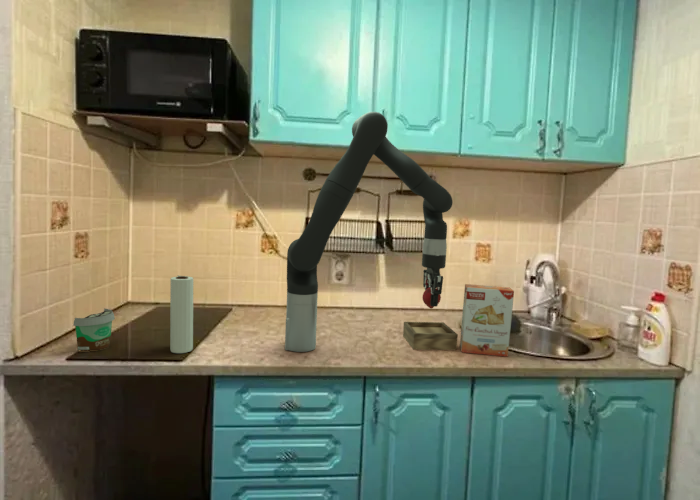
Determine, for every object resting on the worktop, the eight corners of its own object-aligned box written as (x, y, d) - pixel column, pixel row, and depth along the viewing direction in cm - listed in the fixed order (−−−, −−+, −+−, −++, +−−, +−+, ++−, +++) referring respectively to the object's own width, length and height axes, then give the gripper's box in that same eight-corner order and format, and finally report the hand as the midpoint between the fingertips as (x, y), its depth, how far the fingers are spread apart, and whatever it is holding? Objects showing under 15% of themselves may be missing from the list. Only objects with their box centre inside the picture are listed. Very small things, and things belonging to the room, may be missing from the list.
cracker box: (461, 353, 133) (466, 286, 131) (459, 347, 139) (464, 283, 137) (508, 357, 131) (514, 290, 129) (504, 351, 137) (510, 286, 135)
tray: (413, 349, 135) (414, 333, 134) (403, 335, 149) (403, 321, 148) (456, 349, 136) (457, 334, 136) (442, 336, 150) (443, 322, 150)
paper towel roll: (187, 354, 121) (188, 279, 119) (166, 353, 122) (166, 278, 119) (197, 346, 129) (198, 275, 126) (177, 345, 129) (177, 274, 127)
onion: (429, 311, 137) (431, 286, 136) (418, 307, 142) (419, 283, 141) (443, 309, 140) (445, 285, 139) (432, 305, 145) (433, 282, 144)
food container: (93, 356, 117) (93, 320, 116) (73, 354, 118) (73, 318, 117) (124, 342, 129) (124, 309, 128) (106, 340, 130) (105, 308, 129)
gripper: (417, 250, 146) (414, 298, 148) (429, 255, 132) (425, 309, 134) (438, 250, 147) (435, 299, 149) (453, 255, 133) (449, 309, 134)
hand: (431, 303), depth 141 cm, fingers closed on onion, 5 cm apart
